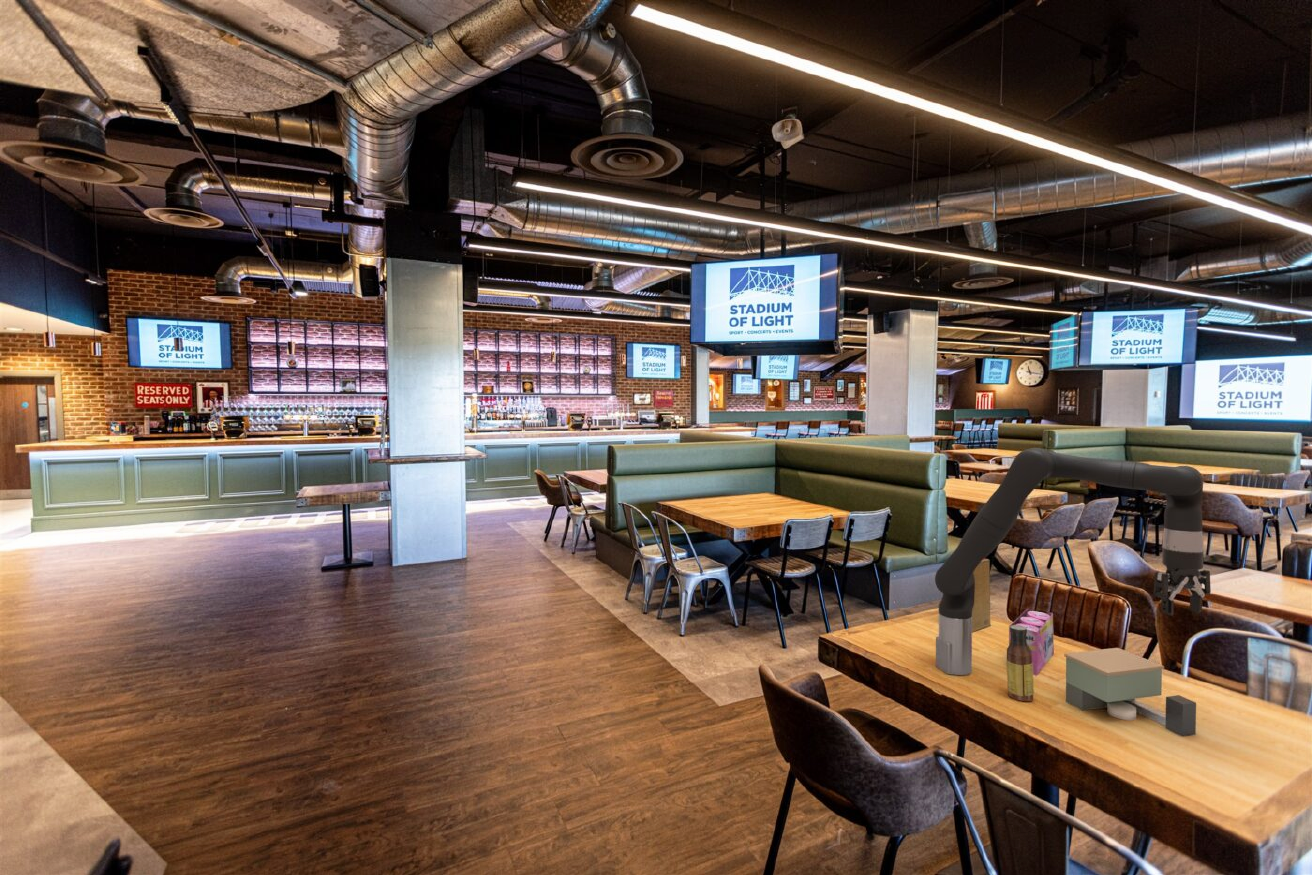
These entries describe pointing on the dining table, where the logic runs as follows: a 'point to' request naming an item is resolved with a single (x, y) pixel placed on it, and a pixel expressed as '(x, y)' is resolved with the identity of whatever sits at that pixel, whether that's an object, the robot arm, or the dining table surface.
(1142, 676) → the cabinet
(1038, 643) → the gum box
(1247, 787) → the dining table surface
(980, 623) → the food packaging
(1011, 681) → the sauce bottle
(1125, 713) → the puck
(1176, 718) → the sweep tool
